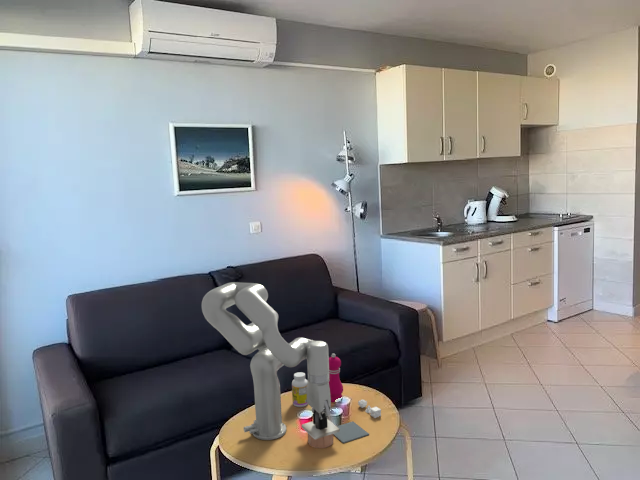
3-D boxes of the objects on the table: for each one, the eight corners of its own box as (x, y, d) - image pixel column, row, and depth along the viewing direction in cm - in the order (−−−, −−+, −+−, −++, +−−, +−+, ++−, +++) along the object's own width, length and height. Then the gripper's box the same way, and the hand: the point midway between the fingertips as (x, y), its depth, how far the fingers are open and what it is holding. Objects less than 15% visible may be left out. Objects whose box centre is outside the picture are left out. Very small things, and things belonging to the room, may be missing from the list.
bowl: (315, 450, 183) (315, 438, 182) (303, 439, 191) (303, 427, 190) (338, 443, 187) (337, 431, 186) (325, 432, 195) (325, 420, 194)
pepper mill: (339, 394, 226) (338, 349, 223) (346, 401, 219) (345, 355, 216) (323, 397, 223) (322, 352, 220) (330, 404, 217) (328, 357, 214)
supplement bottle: (290, 401, 220) (289, 372, 219) (306, 399, 222) (305, 370, 220) (295, 408, 214) (293, 378, 212) (310, 406, 216) (309, 376, 214)
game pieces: (381, 417, 206) (381, 409, 205) (374, 419, 204) (374, 411, 204) (363, 404, 216) (363, 397, 216) (356, 406, 214) (356, 399, 214)
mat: (343, 443, 187) (343, 442, 187) (327, 430, 196) (327, 429, 196) (369, 434, 192) (369, 433, 192) (353, 422, 202) (353, 421, 202)
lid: (314, 439, 182) (314, 423, 181) (301, 427, 190) (300, 411, 189) (339, 431, 186) (339, 415, 185) (325, 419, 195) (325, 404, 194)
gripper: (298, 371, 191) (300, 419, 193) (320, 387, 176) (322, 439, 179) (316, 366, 194) (318, 413, 197) (339, 382, 180) (341, 433, 183)
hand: (320, 425), depth 188 cm, fingers closed on lid, 3 cm apart
